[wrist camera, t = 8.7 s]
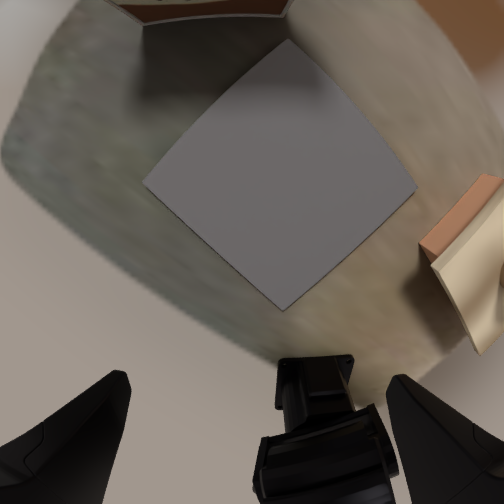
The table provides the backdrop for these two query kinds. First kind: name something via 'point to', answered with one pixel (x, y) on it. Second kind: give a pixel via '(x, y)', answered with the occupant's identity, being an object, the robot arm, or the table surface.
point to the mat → (282, 175)
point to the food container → (198, 9)
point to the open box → (460, 216)
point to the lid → (477, 274)
